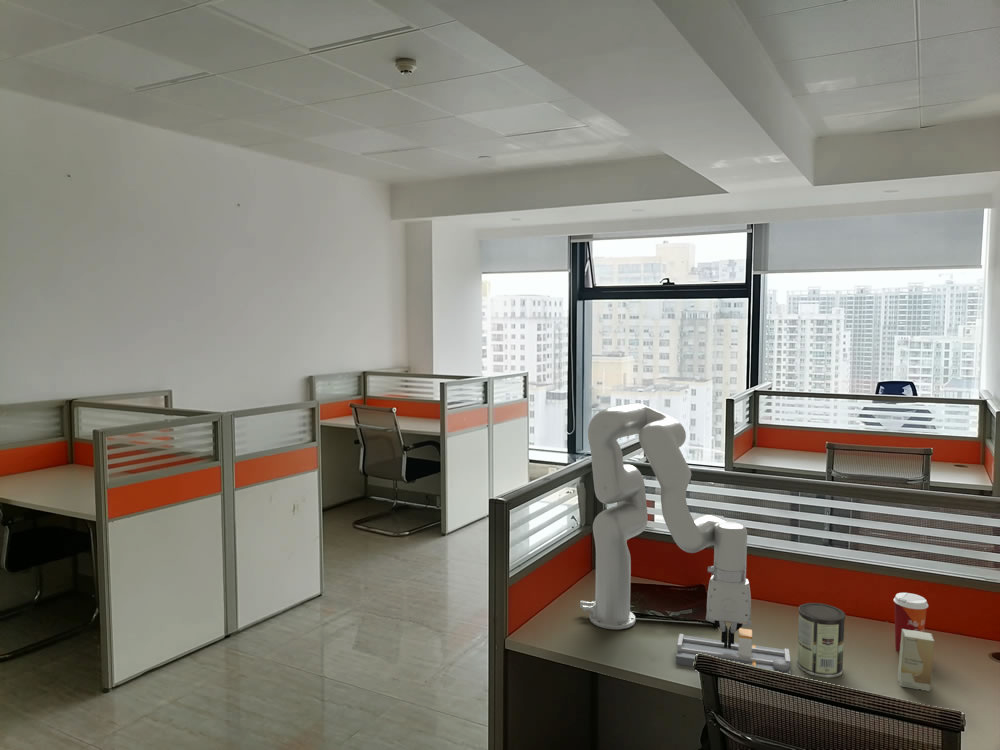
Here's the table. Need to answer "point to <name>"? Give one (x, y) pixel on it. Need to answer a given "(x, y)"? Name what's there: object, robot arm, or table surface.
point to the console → (731, 653)
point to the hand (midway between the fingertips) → (727, 645)
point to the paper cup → (909, 614)
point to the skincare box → (915, 659)
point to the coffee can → (821, 639)
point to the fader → (745, 642)
